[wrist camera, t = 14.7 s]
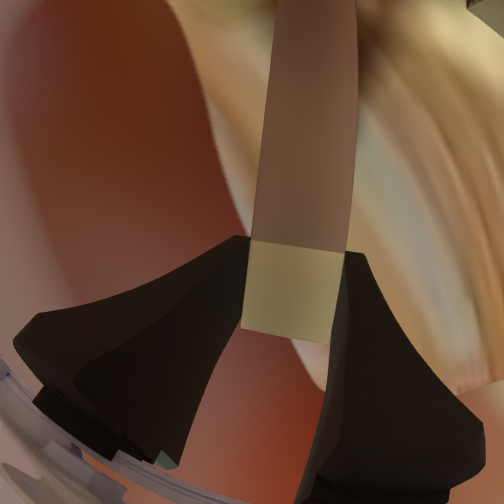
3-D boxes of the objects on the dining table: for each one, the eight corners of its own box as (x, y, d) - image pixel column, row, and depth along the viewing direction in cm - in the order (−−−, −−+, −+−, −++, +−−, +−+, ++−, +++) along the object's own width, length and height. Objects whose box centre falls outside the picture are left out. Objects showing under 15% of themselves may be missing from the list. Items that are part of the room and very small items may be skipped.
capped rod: (354, 19, 10) (353, -20, 7) (331, 316, 12) (328, 344, 9) (293, 17, 11) (280, -21, 8) (263, 304, 13) (240, 327, 10)
